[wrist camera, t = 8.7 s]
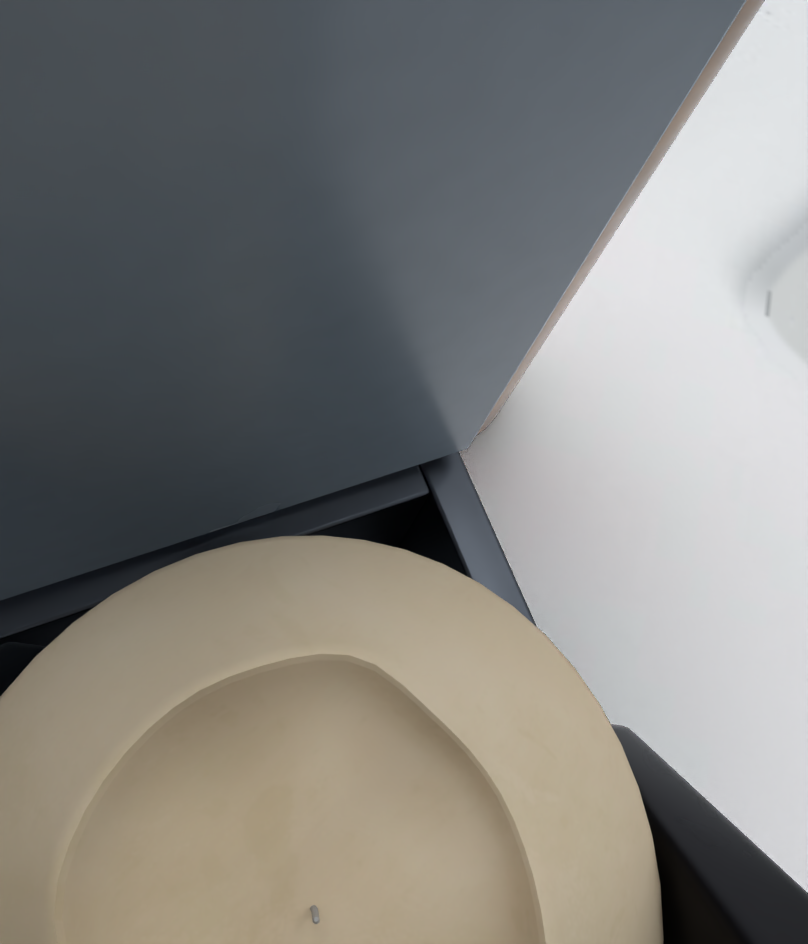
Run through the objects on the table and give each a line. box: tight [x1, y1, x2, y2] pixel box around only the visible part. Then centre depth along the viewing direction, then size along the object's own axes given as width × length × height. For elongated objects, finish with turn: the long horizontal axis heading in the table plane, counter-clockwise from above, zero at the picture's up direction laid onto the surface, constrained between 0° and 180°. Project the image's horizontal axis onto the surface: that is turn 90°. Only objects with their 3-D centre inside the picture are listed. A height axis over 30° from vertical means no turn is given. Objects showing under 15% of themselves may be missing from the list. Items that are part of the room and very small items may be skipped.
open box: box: [0, 452, 537, 647], centre depth 14 cm, size 10×10×6 cm
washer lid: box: [0, 0, 747, 601], centre depth 8 cm, size 10×10×1 cm
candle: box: [0, 536, 664, 944], centre depth 9 cm, size 6×6×10 cm
